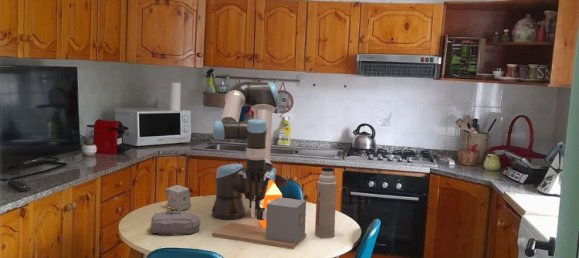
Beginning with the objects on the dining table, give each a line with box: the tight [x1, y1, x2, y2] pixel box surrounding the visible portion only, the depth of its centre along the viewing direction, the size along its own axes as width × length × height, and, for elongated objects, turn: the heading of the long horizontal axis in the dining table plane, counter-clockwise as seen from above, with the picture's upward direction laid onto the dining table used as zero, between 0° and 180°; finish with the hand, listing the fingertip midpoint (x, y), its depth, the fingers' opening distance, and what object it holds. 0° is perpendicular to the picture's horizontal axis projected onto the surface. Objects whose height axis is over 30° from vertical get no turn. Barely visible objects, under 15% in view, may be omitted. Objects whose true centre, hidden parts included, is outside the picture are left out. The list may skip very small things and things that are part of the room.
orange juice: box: [259, 180, 283, 227], centre depth 228 cm, size 8×9×20 cm
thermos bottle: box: [314, 166, 338, 239], centre depth 217 cm, size 8×8×28 cm
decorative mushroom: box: [274, 174, 288, 192], centre depth 263 cm, size 11×11×15 cm
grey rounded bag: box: [150, 209, 202, 235], centre depth 217 cm, size 15×8×20 cm
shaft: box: [256, 207, 303, 224], centre depth 209 cm, size 18×5×5 cm, turn 70°
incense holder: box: [164, 184, 192, 211], centre depth 249 cm, size 10×8×10 cm
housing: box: [212, 197, 307, 250], centre depth 212 cm, size 34×16×16 cm, turn 70°
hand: (254, 216), depth 213 cm, fingers closed
